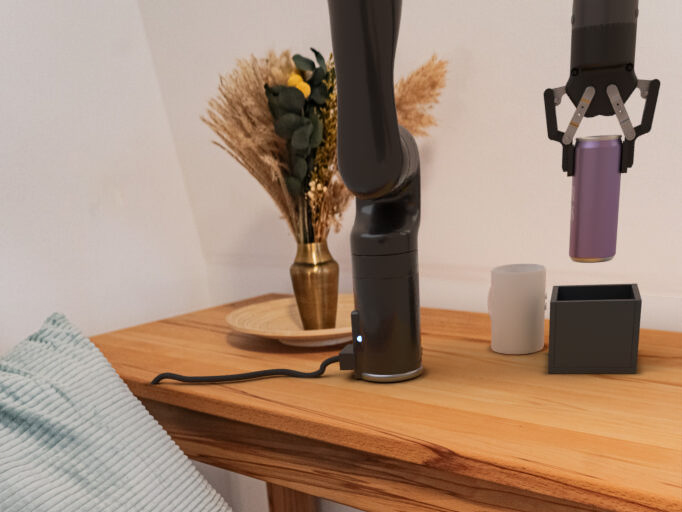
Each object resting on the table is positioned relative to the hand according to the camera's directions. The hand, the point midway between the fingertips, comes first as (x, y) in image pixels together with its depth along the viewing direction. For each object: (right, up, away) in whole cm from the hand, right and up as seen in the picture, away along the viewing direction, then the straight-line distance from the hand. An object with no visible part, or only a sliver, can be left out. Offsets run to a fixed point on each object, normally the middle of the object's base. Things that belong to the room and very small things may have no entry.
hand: (596, 174), depth 107 cm
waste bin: (+3, -22, +13) cm, 25 cm away
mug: (-6, -17, +24) cm, 30 cm away
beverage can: (+1, -10, +5) cm, 11 cm away
